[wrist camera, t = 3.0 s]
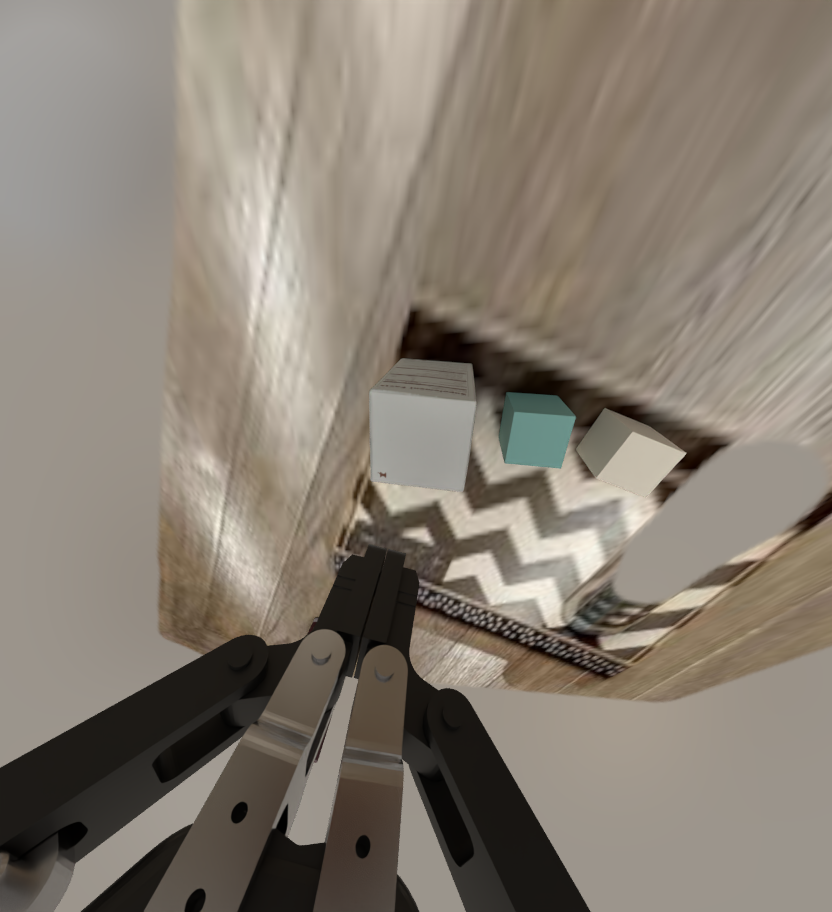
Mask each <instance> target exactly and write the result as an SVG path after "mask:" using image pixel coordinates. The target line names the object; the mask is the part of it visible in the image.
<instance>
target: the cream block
mask: <svg viewBox="0 0 832 912" xmlns="http://www.w3.org/2000/svg"><path fill="white" fill-rule="evenodd" d="M576 451H577V452H578V453H579V455H580V456H581V458H582V459H583V461H584V462H585V463H586V465H587V466H588V468H589V469H590V471H591V472H592V473H593V475H594V476H595V478H596V479H599V480H601V481H604V482H606V483H609V484H611V485H614V486H616V487H619V488H622V489H624V490H627V491H629V492H632V493H634V494H637V495H639V496H642V497H644V498H646V497H647V496H648V495H649V494H650V492H651V491H652V490H653V489H654V488H655V487H656V486H657V485H658V484H659V483H660V482H661V481H662V479H663V478H664V477H665V476H666V475H667V474H668V473H669V472H670V471H671V470H672V469H673V468H674V466H675V465H676V464H677V463H678V462H679V461H680V460H681V459H682V458H683V457H684V456H685V454H686V453H685V452H684V451H683V450H681V449H680V448H679V447H677V446H676V445H674V444H673V443H672V442H670V441H669V440H668V439H666V438H665V437H664V436H662V435H661V434H659V433H658V432H657V431H655V430H654V429H653V428H651V427H650V426H648V425H645V424H643V423H640V422H638V421H635V420H633V419H630V418H628V417H626V416H623V415H621V414H618V413H616V412H613V411H611V410H608V409H606V408H604V410H603V411H602V413H601V414H600V415H599V417H598V418H597V420H596V421H595V423H594V424H593V425H592V427H591V428H590V430H589V431H588V432H587V434H586V435H585V437H584V438H583V440H582V441H581V442H580V444H579V445H578V447H577V448H576Z"/></svg>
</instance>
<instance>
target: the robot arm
mask: <svg viewBox="0 0 832 912" xmlns="http://www.w3.org/2000/svg"><path fill="white" fill-rule="evenodd" d="M386 552H387V549H386V548H382V547H378V546H374V545H370V544H369V546H368V549H367V551H366V554H365V557H360V556H357V555H353V554H352V555H351V556H350V557H349V558H348V559H347V560H346V561H345V562H344V563H343V564H342V566H341V568H340V571H339V573H338V575H337V577H336V580H335V582H334V584H333V587H332V589H331V591H330V593H329V595H328V598H327V600H326V602H325V604H324V607H323V609H322V611H321V613H320V616H319V618H318V620H317V622H316V624H315V626H314V628H313V629H312V631H311V632H310V633H309V634H308V635H306V636H305V637H304V638H302V639H301V640H299V641H296V642H293V643H289V644H281V645H270V646H267V645H266V643H265V641H264V640H263V639H262V638H260V637H258V636H255V635H243V636H239V637H236V638H234V639H232V640H230V641H229V642H227V643H225V644H223V645H221V646H219V647H218V648H216V649H214V650H212V651H210V652H209V653H207V654H205V655H203V656H201V657H200V658H198V659H196V660H194V661H193V662H191V663H189V664H187V665H185V666H183V667H182V668H180V669H178V670H176V671H174V672H173V673H171V674H169V675H167V676H165V677H163V678H162V679H160V680H158V681H156V682H154V683H153V684H151V685H149V686H147V687H146V688H144V689H142V690H140V691H138V692H136V693H135V694H133V695H131V696H129V697H127V698H126V699H124V700H122V701H120V702H118V703H117V704H115V705H113V706H111V707H109V708H108V709H106V710H104V711H102V712H100V713H98V714H97V715H95V716H93V717H91V718H89V719H88V720H86V721H84V722H82V723H80V724H79V725H77V726H75V727H73V728H71V729H70V730H68V731H66V732H64V733H62V734H61V735H59V736H57V737H55V738H53V739H51V740H50V741H48V742H46V743H44V744H42V745H41V746H39V747H37V748H35V749H33V750H32V751H30V752H28V753H26V754H24V755H22V756H21V757H19V758H17V759H15V760H13V761H12V762H10V763H8V764H6V765H5V766H3V767H1V768H0V912H53V911H54V910H55V909H56V907H57V905H58V904H59V903H60V901H61V899H62V897H63V896H64V893H65V892H66V890H67V888H68V885H69V883H70V881H71V878H72V875H73V871H74V866H75V863H76V862H78V861H79V860H80V859H82V858H83V857H84V856H85V855H87V854H88V853H90V852H91V851H92V850H94V849H95V848H96V847H97V846H99V845H100V844H101V843H103V842H104V841H105V840H107V839H108V838H109V837H111V836H112V835H113V834H115V833H116V832H117V831H119V830H120V829H121V828H123V827H124V826H125V825H126V824H128V823H129V822H130V821H132V820H133V819H134V818H136V817H137V816H138V815H140V814H141V813H142V812H144V811H145V810H146V809H147V808H149V807H150V806H151V805H153V804H154V803H155V802H157V801H158V800H159V799H161V798H162V797H163V796H165V795H166V794H167V793H169V792H170V791H171V790H173V789H174V788H175V787H176V786H178V785H179V784H180V783H182V782H183V781H184V780H185V779H187V778H188V777H190V776H191V775H192V774H194V773H195V772H196V771H198V770H199V769H200V768H202V767H203V766H204V765H206V764H207V763H208V762H209V761H211V760H212V759H213V758H215V757H216V756H217V755H219V754H220V753H221V752H223V751H224V750H225V749H227V748H228V747H229V746H231V745H232V744H233V743H234V742H236V741H237V740H238V739H240V738H241V737H242V736H243V737H242V738H241V740H240V742H239V743H238V745H237V747H236V749H235V751H234V752H233V754H232V756H231V758H230V760H229V761H228V763H227V765H226V767H225V768H224V770H223V772H222V774H221V775H220V777H219V779H218V781H217V782H216V784H215V786H214V788H213V790H212V791H211V793H210V795H209V797H208V798H207V800H206V802H205V804H204V806H203V807H202V809H201V811H200V813H199V814H198V816H197V818H196V820H195V821H194V823H193V824H191V825H188V826H186V827H184V828H182V829H181V830H179V831H177V832H175V833H174V834H172V835H171V836H169V837H168V838H166V839H165V840H164V841H162V842H161V843H159V844H158V845H157V846H156V847H154V848H153V849H152V850H151V851H150V852H149V853H147V854H146V855H145V856H144V857H143V858H142V859H140V860H139V861H138V862H137V863H136V864H135V865H134V866H133V867H132V868H130V869H129V870H128V871H127V872H126V873H124V874H123V875H122V876H121V877H120V878H119V879H118V880H116V881H115V882H114V883H113V884H112V885H111V886H110V887H108V888H107V889H106V890H105V891H104V892H103V893H102V894H100V895H99V896H98V897H97V898H96V899H95V900H94V901H92V902H91V903H90V904H89V905H88V906H87V907H86V908H84V909H83V910H82V911H81V912H419V910H418V907H417V905H416V903H415V901H414V899H413V898H412V896H411V893H410V891H409V890H408V888H407V887H406V885H405V884H404V882H403V881H402V879H401V878H400V877H399V876H398V875H397V867H398V852H399V838H400V823H401V808H402V794H403V775H404V773H403V772H404V771H403V762H402V759H403V760H404V761H405V762H407V763H408V764H409V768H410V770H411V773H412V776H413V779H414V781H415V784H416V786H417V788H418V791H419V794H420V796H421V799H422V801H423V804H424V806H425V809H426V811H427V814H428V816H429V819H430V821H431V824H432V827H433V829H434V832H435V834H436V837H437V839H438V842H439V844H440V847H441V849H442V852H443V854H444V857H445V859H446V862H447V864H448V867H449V870H450V872H451V875H452V877H453V880H454V882H455V885H456V887H457V890H458V892H459V895H460V897H461V900H462V902H463V905H464V908H465V910H466V912H590V910H589V908H588V907H587V905H586V903H585V901H584V900H583V898H582V896H581V894H580V893H579V891H578V889H577V887H576V886H575V884H574V882H573V880H572V879H571V877H570V875H569V873H568V872H567V870H566V868H565V866H564V865H563V863H562V861H561V860H560V858H559V856H558V854H557V853H556V851H555V849H554V847H553V846H552V844H551V842H550V840H549V839H548V837H547V835H546V834H545V832H544V830H543V828H542V827H541V825H540V823H539V822H538V820H537V818H536V817H535V815H534V813H533V811H532V809H531V808H530V806H529V804H528V802H527V801H526V799H525V797H524V795H523V794H522V792H521V790H520V789H519V787H518V785H517V783H516V782H515V780H514V778H513V777H512V775H511V773H510V771H509V770H508V768H507V766H506V764H505V763H504V761H503V759H502V757H501V756H500V754H499V752H498V750H497V749H496V747H495V745H494V744H493V742H492V740H491V738H490V737H489V735H488V733H487V731H486V730H485V728H484V726H483V724H482V723H481V721H480V719H479V718H478V716H477V714H476V712H475V711H474V709H473V707H472V705H471V704H470V702H469V701H468V699H467V698H466V697H465V696H464V695H463V694H462V693H460V692H458V691H457V690H454V689H450V688H445V689H441V690H437V689H436V688H434V687H433V686H431V685H430V684H429V683H427V682H426V681H424V680H423V679H422V678H421V677H420V676H419V675H418V674H417V673H416V672H415V670H414V668H413V666H412V664H411V661H410V657H409V648H410V641H411V634H412V628H413V621H414V615H415V607H416V602H417V595H418V588H419V580H418V577H417V573H416V571H415V570H411V569H407V568H404V567H403V565H404V561H405V556H406V553H402V552H398V551H394V550H390V549H388V552H387V556H386ZM385 556H386V559H385ZM384 560H385V562H384ZM383 565H384V566H383ZM358 655H359V657H358ZM357 659H358V662H357ZM356 662H357V666H356V671H355V676H354V678H357V679H358V684H357V689H356V693H355V697H354V702H353V706H352V710H351V715H350V720H349V726H348V730H347V735H346V740H345V745H344V750H343V755H342V760H341V765H340V770H339V775H338V780H337V785H336V789H335V795H334V800H333V804H332V809H331V813H330V818H329V823H328V828H327V833H326V838H325V843H318V844H310V845H297V844H295V843H294V842H292V841H291V840H290V839H289V838H288V835H289V832H290V830H291V827H292V824H293V822H294V819H295V816H296V813H297V811H298V808H299V805H300V802H301V799H302V795H303V792H304V789H305V786H306V782H307V780H308V776H309V774H310V771H311V769H312V766H313V763H314V761H315V758H316V755H317V753H318V750H319V747H320V745H321V742H322V740H323V737H324V734H325V732H326V729H327V726H328V724H329V721H330V718H331V716H332V713H333V710H334V708H335V705H336V702H337V700H338V698H339V696H340V693H341V690H342V686H343V683H344V679H345V676H348V677H352V676H353V672H354V669H355V665H356Z"/></svg>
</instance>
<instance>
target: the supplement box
mask: <svg viewBox="0 0 832 912" xmlns="http://www.w3.org/2000/svg"><path fill="white" fill-rule="evenodd" d="M476 404H477V401H476V394H475V383H474V375H473V368H472V364H470V363H455V362H443V361H430V360H418V359H406V358H402V359H400V360H399V361H398V362H397V363H396V365H395V366H393V368H391V370H390V371H389V372H388V373H387V374H386V375H385V376H384V377H383V378H382V379H381V380H380V381H379V382H378V383H377V384H376V385H375V386H374V387H373V388H371V390H370V392H369V408H370V460H371V481H372V482H382V483H389V484H397V485H406V486H414V487H423V488H431V489H440V490H448V491H457V492H462V491H463V490H464V486H465V481H466V474H467V468H468V462H469V456H470V449H471V442H472V436H473V428H474V421H475V413H476Z"/></svg>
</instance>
